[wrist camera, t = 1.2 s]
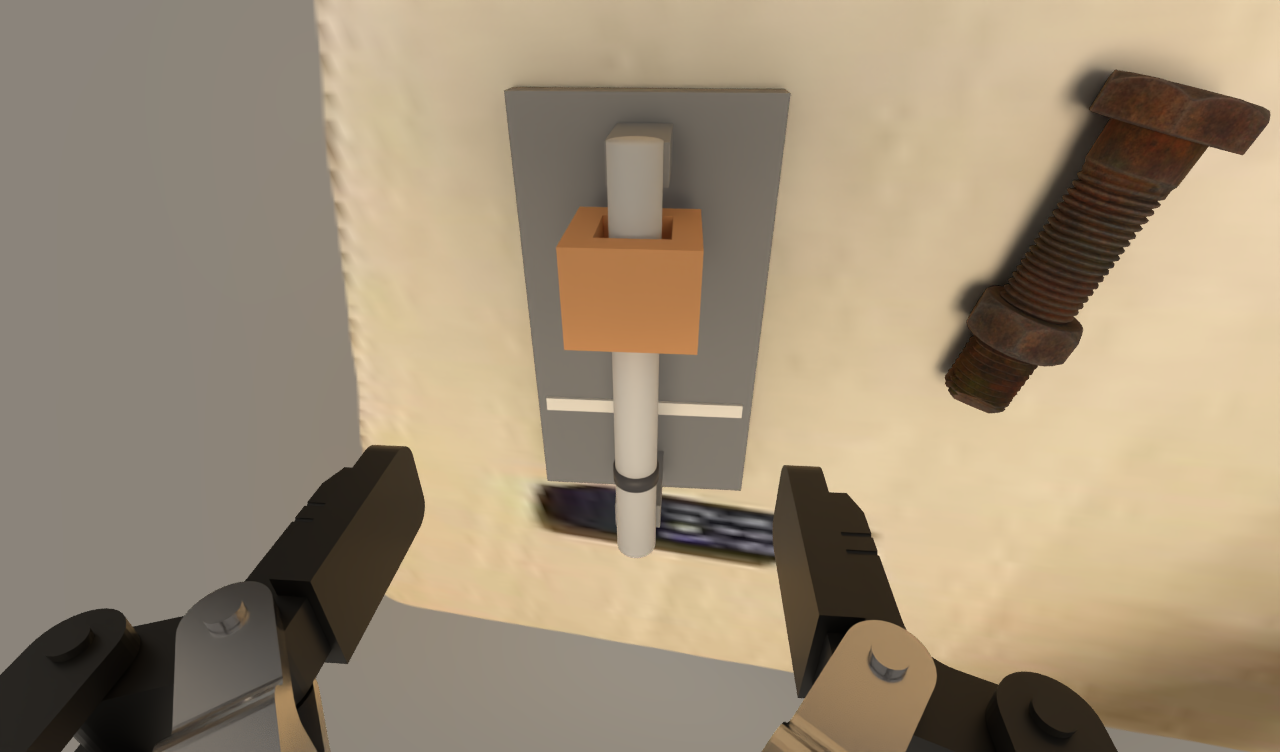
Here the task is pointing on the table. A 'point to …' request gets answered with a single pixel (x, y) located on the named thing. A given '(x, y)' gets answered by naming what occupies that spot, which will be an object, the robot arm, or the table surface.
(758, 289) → the pipe stand
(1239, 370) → the table surface
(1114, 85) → the bolt
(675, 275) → the collar
